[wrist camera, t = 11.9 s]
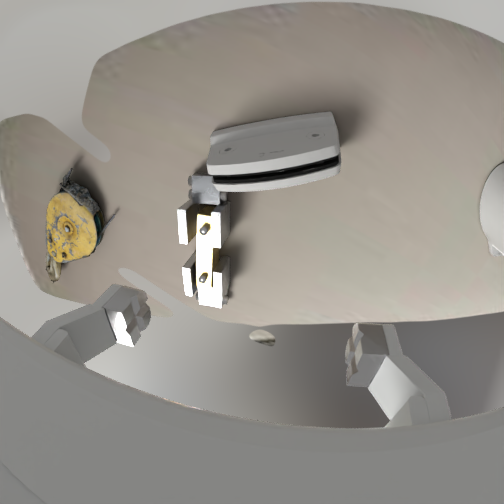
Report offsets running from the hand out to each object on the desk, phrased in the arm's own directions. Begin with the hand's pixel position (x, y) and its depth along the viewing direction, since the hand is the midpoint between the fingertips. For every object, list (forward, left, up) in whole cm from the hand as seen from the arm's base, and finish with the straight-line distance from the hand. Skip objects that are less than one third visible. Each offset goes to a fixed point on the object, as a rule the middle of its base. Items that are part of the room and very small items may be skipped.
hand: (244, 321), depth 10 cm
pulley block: (+43, +14, -29) cm, 54 cm away
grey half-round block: (+2, -3, -29) cm, 29 cm away
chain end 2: (+11, +19, -29) cm, 36 cm away
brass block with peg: (+11, +12, -29) cm, 33 cm away
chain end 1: (+11, +5, -29) cm, 31 cm away
